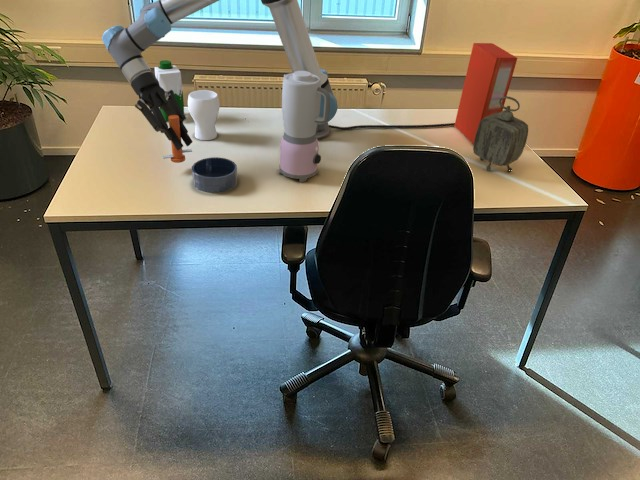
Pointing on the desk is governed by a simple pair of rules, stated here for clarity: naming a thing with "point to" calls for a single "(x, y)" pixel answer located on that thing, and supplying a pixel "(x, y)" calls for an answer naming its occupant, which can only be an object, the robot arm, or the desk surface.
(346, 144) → the desk surface
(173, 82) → the milk carton
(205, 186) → the bowl
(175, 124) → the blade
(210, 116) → the cup
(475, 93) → the file binder
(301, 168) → the blender
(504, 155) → the tabletop clock
